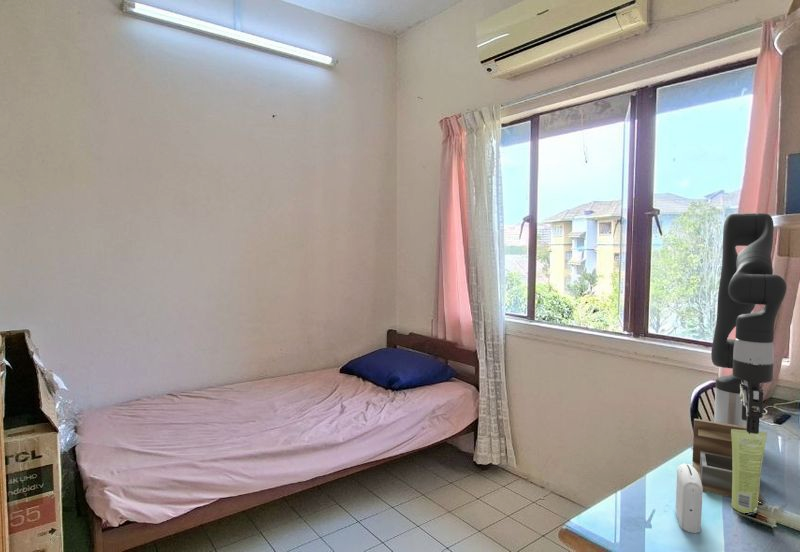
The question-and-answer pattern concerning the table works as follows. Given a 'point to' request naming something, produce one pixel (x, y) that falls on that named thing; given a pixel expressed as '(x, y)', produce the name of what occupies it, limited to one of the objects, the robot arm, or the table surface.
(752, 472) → the tube
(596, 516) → the table surface
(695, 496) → the photo printer
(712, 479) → the wall rack
